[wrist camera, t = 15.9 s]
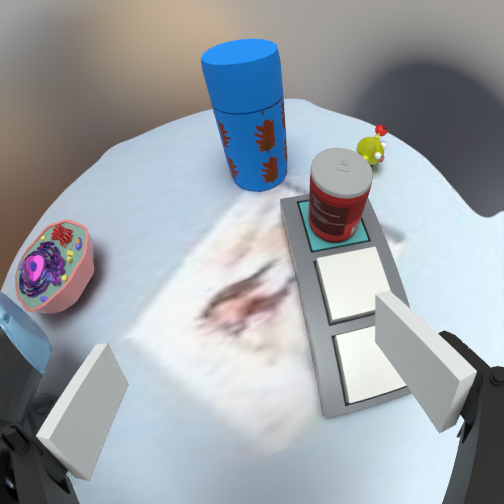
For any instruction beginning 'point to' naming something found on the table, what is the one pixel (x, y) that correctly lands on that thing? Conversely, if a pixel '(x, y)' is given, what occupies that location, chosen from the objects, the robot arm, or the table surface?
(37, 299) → the cell model
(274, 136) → the thermos
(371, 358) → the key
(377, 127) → the toy figure
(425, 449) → the table surface
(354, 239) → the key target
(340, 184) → the canned food
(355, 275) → the key middle
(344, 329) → the keypad frame
